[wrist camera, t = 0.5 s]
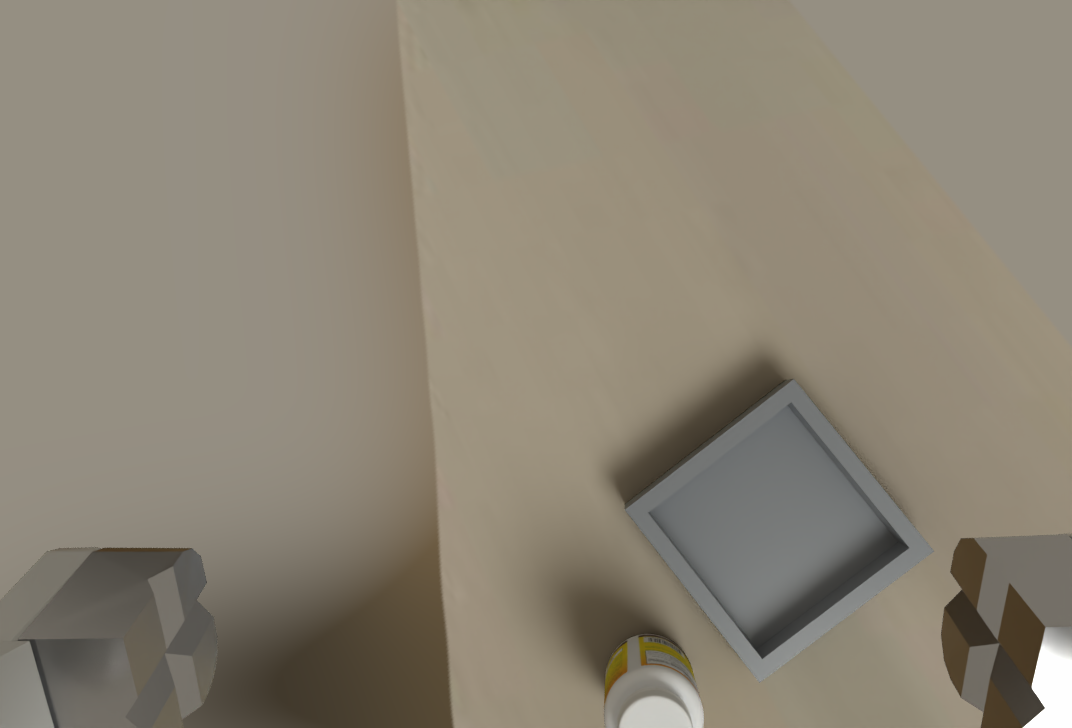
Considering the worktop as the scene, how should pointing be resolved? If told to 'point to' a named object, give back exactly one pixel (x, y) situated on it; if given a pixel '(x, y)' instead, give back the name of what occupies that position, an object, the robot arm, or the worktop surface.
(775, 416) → the tray
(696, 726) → the supplement bottle
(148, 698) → the robot arm
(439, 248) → the worktop surface
